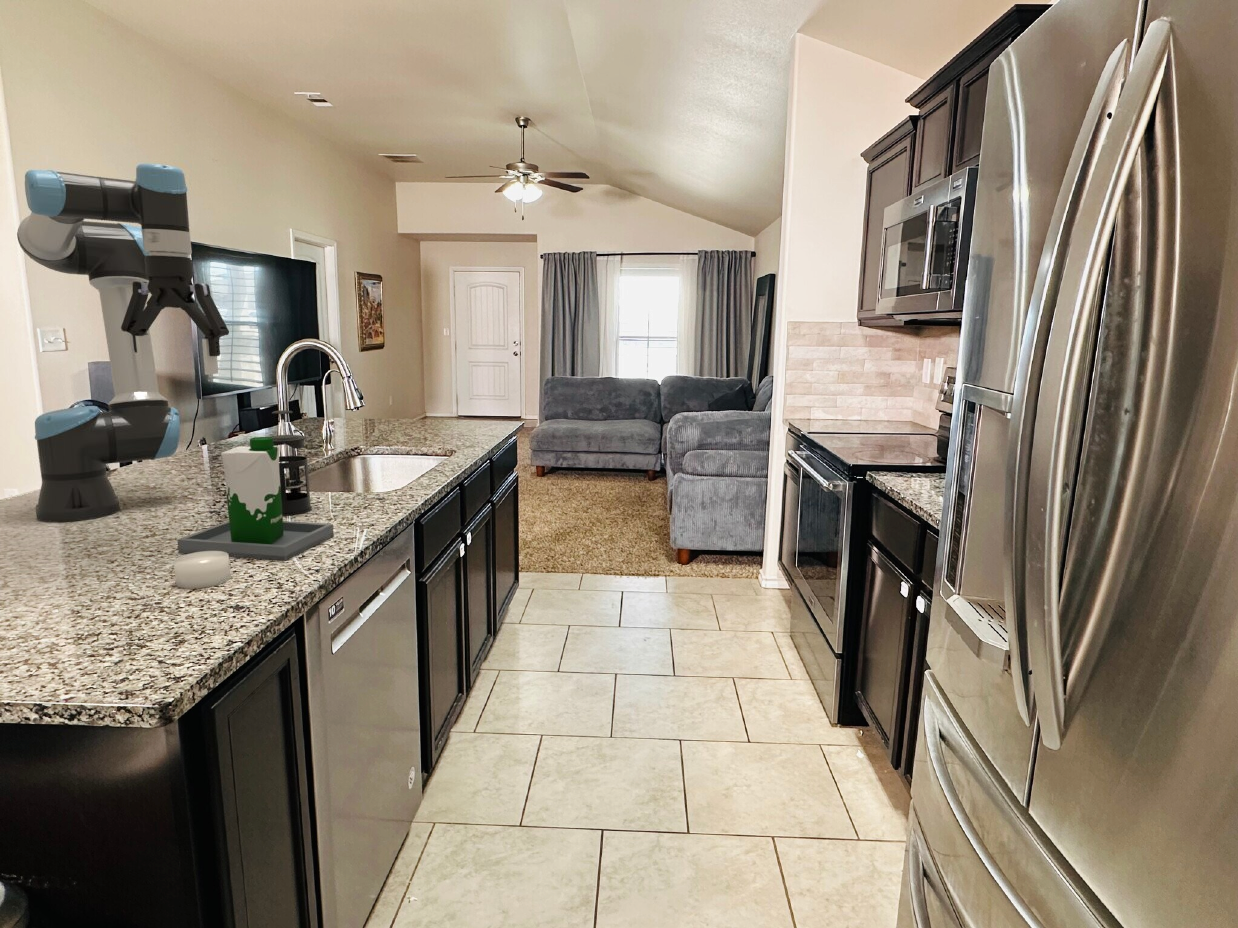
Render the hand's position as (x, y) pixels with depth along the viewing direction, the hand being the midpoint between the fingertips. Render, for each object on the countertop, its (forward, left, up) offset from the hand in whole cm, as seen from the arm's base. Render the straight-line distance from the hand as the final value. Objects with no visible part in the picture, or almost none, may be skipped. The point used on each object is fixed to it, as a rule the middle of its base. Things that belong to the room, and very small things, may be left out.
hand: (178, 372), depth 140 cm
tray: (+13, +1, -33) cm, 36 cm away
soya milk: (+13, +1, -32) cm, 35 cm away
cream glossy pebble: (+17, -19, -33) cm, 42 cm away
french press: (+3, +26, -33) cm, 42 cm away
